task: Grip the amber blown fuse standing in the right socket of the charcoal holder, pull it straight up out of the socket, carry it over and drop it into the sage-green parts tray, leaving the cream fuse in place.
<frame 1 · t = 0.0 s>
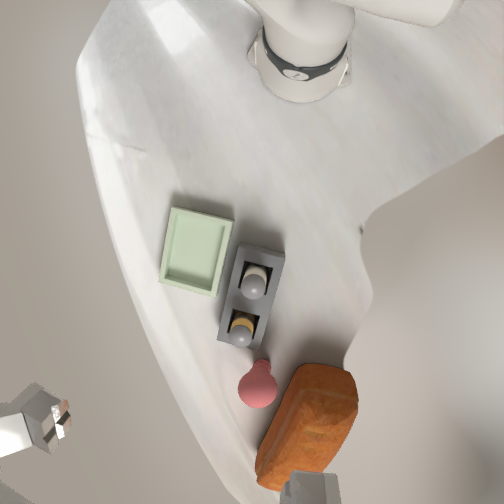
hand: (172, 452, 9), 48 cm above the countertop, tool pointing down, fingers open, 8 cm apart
light bulb: (260, 364, 61), on the countertop
blown fuse: (245, 315, 59), resting in fuse holder
tray: (196, 250, 57), on the countertop
fuse holder: (250, 294, 58), on the countertop
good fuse: (256, 271, 57), resting in fuse holder
bread: (301, 419, 64), on the countertop
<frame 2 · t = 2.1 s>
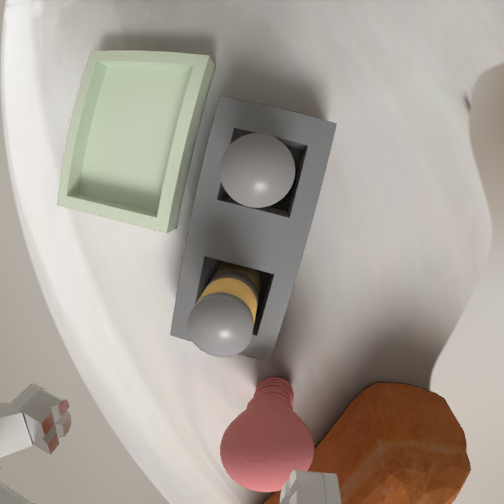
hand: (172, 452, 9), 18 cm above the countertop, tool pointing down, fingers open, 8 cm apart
light bulb: (271, 386, 29), on the countertop
blown fuse: (238, 280, 26), resting in fuse holder
tray: (134, 135, 24), on the countertop
fuse holder: (250, 228, 25), on the countertop
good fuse: (264, 173, 24), resting in fuse holder
bread: (339, 473, 32), on the countertop
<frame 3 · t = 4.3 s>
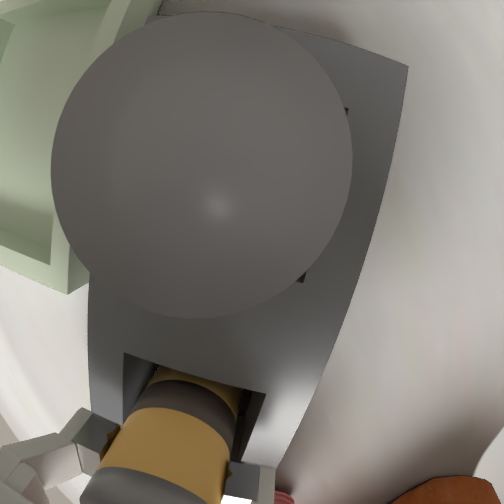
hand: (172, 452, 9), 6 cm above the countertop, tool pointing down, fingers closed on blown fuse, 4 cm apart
light bulb: (263, 493, 17), on the countertop
blown fuse: (205, 368, 14), resting in fuse holder, touching gripper
tray: (36, 119, 12), on the countertop
fuse holder: (224, 282, 13), on the countertop
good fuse: (249, 175, 12), resting in fuse holder
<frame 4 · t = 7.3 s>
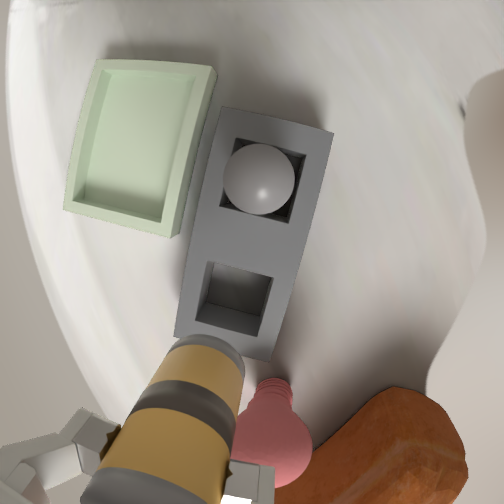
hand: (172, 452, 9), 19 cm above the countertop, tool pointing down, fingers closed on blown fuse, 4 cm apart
light bulb: (270, 386, 30), on the countertop
blown fuse: (205, 368, 14), point 13 cm above the countertop, touching gripper
tray: (139, 142, 25), on the countertop
fuse holder: (251, 233, 26), on the countertop
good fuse: (264, 180, 25), resting in fuse holder
bread: (334, 474, 33), on the countertop
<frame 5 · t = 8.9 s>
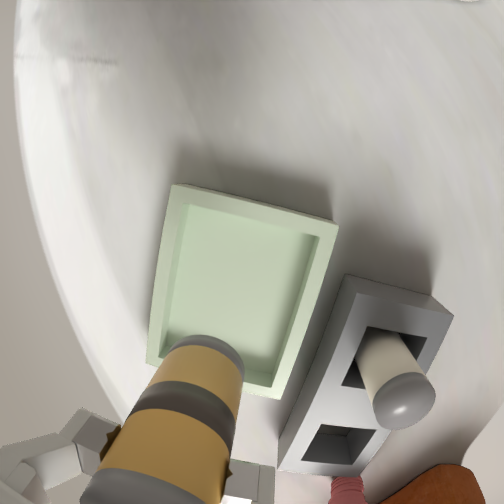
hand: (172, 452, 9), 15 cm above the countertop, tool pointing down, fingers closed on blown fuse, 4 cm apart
light bulb: (342, 477, 28), on the countertop
blown fuse: (204, 369, 14), point 10 cm above the countertop, touching gripper
tray: (234, 292, 24), on the countertop
fuse holder: (351, 380, 25), on the countertop
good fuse: (371, 336, 24), resting in fuse holder
when the fingers open (7 cm above the countertop, at t = 10.3 s): blown fuse drops 1 cm, resting on tray.
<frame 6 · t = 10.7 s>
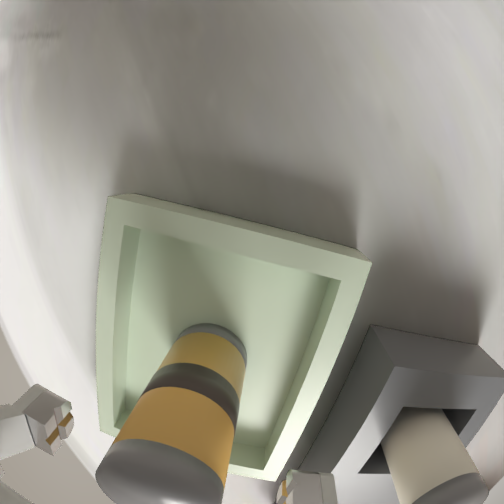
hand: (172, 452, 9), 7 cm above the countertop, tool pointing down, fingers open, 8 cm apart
blown fuse: (209, 356, 15), point 1 cm above the countertop, touching tray
tray: (211, 350, 16), on the countertop
fuse holder: (367, 449, 17), on the countertop
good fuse: (398, 400, 16), resting in fuse holder
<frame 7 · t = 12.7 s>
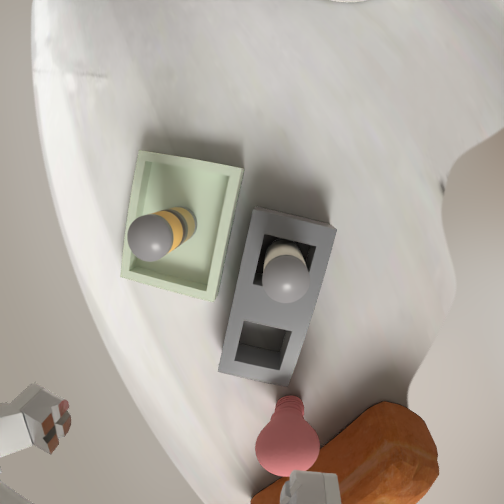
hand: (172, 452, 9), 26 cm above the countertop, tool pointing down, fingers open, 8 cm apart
light bulb: (286, 401, 38), on the countertop
blown fuse: (180, 223, 33), point 1 cm above the countertop, touching tray
tray: (181, 223, 34), on the countertop
fuse holder: (273, 294, 35), on the countertop
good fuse: (283, 255, 34), resting in fuse holder
bread: (333, 469, 41), on the countertop
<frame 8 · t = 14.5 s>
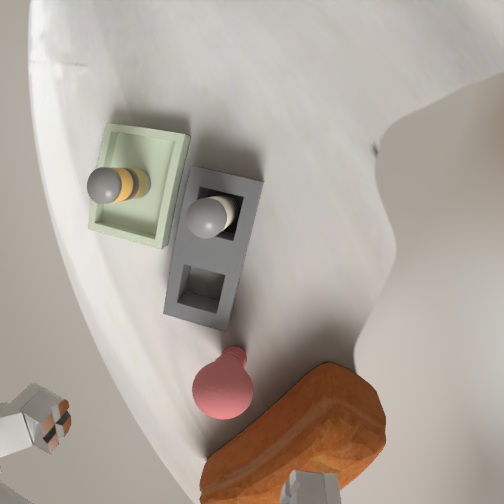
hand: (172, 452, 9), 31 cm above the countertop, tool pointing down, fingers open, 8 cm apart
light bulb: (232, 353, 43), on the countertop
blown fuse: (137, 183, 38), point 1 cm above the countertop, touching tray
tray: (139, 183, 38), on the countertop
fuse holder: (214, 245, 39), on the countertop
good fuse: (222, 210, 38), resting in fuse holder
bread: (285, 434, 46), on the countertop
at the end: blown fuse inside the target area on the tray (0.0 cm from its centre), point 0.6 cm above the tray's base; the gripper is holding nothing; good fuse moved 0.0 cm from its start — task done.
